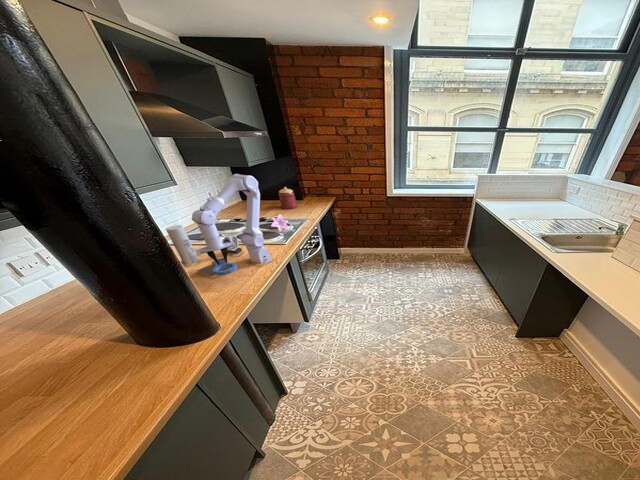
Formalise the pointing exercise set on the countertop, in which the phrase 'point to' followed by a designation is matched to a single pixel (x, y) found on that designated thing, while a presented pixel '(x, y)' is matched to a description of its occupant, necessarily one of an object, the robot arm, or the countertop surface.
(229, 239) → the watch
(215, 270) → the ring
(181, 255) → the spray can
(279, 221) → the lily
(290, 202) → the kitchen canister
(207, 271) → the platform
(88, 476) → the countertop surface
